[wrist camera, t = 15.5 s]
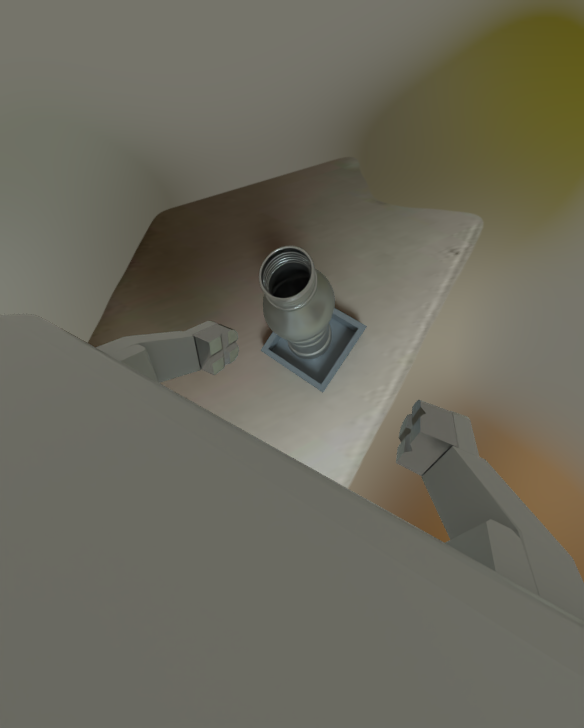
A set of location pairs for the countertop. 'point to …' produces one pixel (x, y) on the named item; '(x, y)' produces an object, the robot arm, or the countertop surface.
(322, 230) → the countertop surface
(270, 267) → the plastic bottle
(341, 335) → the holder
